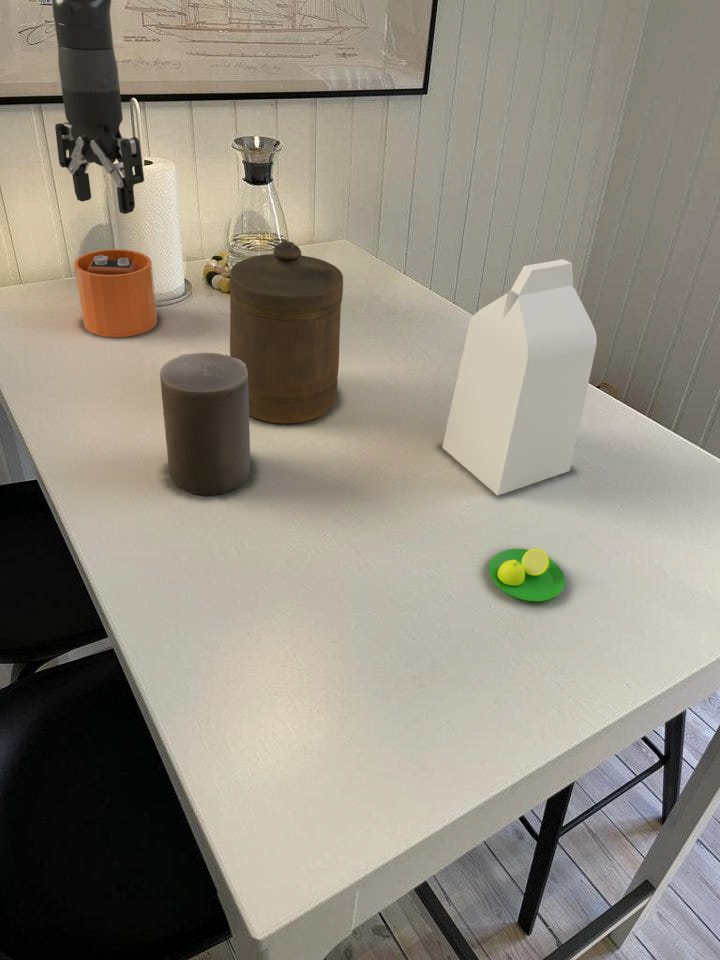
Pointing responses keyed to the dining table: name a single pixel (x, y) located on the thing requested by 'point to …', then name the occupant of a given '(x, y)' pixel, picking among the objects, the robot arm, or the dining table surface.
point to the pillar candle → (206, 422)
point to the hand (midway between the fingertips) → (105, 206)
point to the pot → (117, 296)
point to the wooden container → (287, 333)
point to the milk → (523, 381)
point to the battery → (111, 266)
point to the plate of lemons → (527, 574)
